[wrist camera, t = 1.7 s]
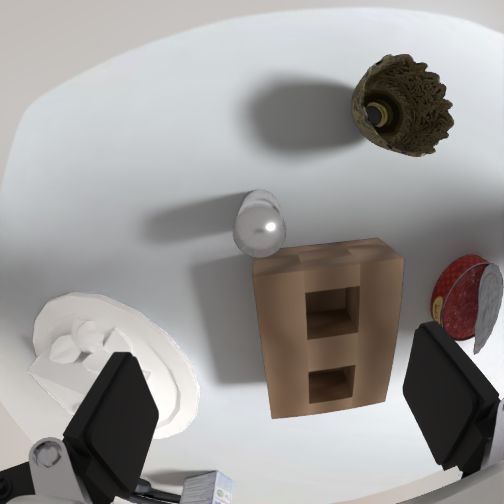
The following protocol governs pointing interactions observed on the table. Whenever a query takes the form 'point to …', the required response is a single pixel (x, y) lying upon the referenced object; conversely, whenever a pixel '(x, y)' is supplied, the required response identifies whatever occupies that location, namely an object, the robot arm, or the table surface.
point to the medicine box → (207, 489)
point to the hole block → (328, 324)
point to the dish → (100, 350)
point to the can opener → (150, 495)
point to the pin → (259, 225)
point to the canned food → (468, 299)
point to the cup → (402, 106)
